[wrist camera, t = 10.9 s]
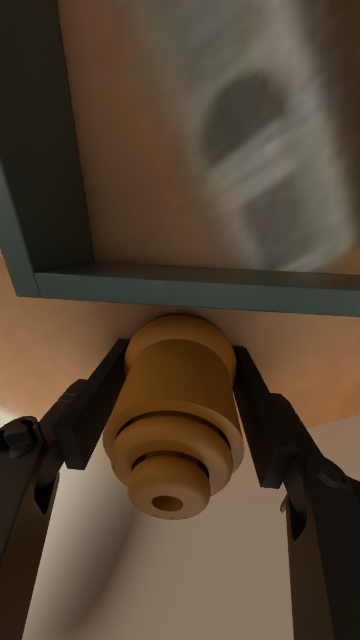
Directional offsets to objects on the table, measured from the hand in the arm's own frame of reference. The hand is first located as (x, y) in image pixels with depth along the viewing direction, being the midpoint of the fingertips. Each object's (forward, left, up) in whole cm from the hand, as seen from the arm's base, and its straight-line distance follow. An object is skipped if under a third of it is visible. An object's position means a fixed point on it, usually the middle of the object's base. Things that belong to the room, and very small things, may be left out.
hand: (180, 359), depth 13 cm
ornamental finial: (0, 0, 0) cm, 0 cm away
